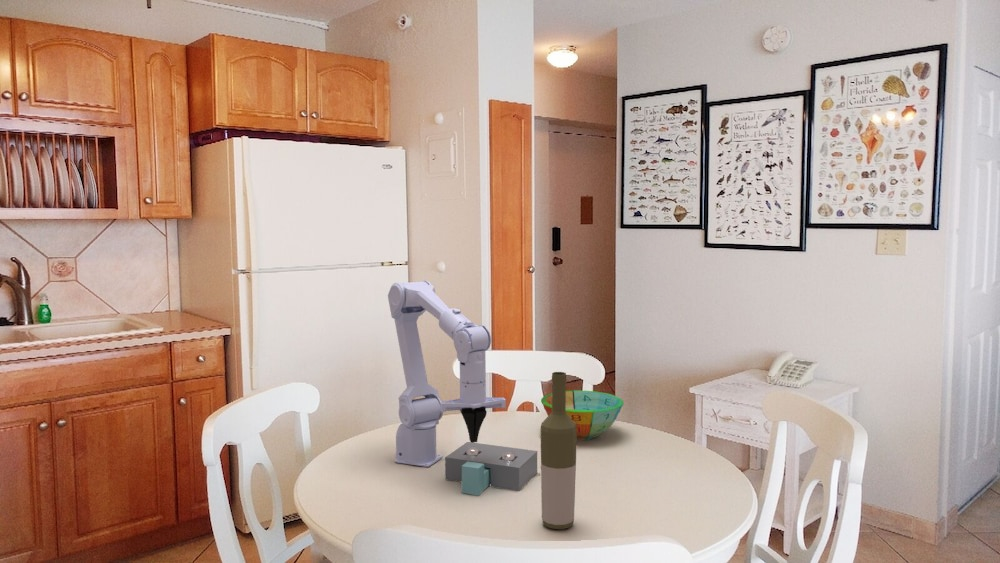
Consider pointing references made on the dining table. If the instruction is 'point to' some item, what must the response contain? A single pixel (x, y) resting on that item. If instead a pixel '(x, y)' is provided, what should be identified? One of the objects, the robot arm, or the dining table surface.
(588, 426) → the bowl
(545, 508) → the bottle
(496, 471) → the housing
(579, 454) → the dining table surface
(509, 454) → the plunger right
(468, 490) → the cartridge
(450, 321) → the robot arm
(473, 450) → the plunger left
